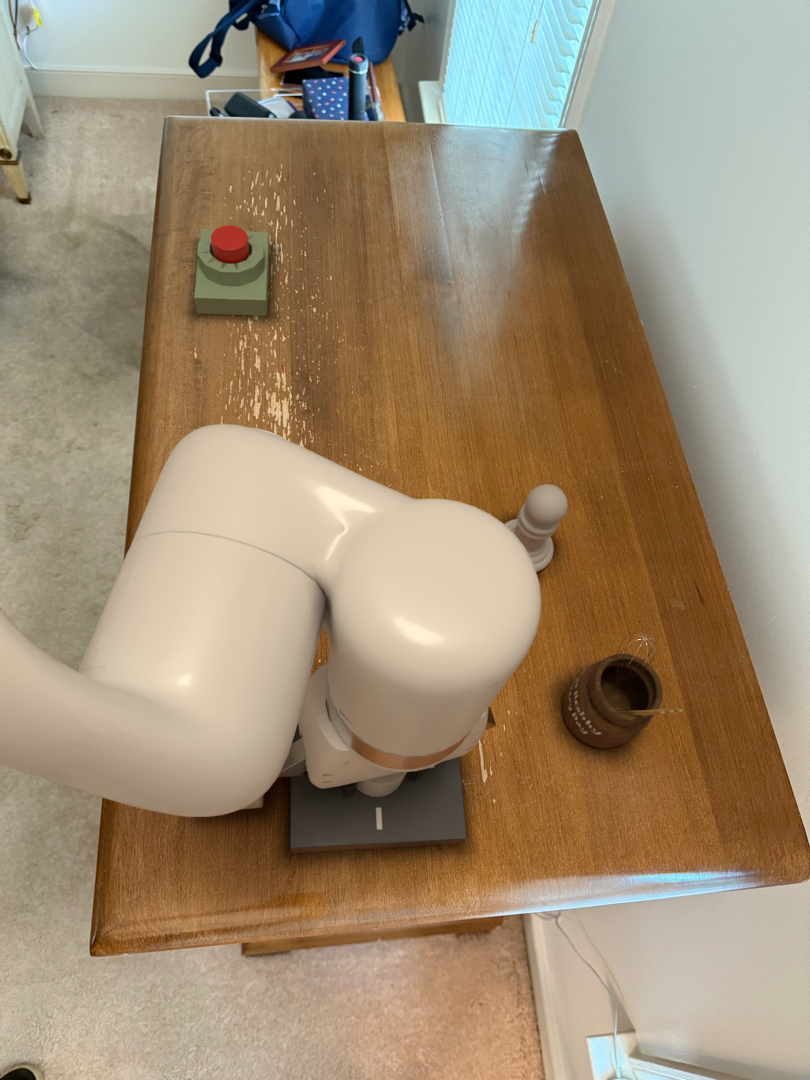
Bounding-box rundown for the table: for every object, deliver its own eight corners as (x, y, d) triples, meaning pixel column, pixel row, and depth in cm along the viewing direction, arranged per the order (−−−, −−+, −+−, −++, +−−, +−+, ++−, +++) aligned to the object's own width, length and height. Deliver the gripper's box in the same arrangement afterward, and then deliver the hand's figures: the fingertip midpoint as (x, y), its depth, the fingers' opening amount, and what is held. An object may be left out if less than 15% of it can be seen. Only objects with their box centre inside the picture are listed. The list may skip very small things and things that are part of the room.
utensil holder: (621, 673, 61) (685, 616, 50) (642, 750, 58) (715, 707, 47) (552, 680, 60) (603, 624, 49) (571, 759, 57) (629, 717, 46)
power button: (211, 263, 73) (209, 249, 71) (214, 238, 75) (211, 224, 73) (248, 265, 73) (247, 250, 72) (250, 240, 75) (248, 226, 74)
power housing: (196, 314, 74) (191, 283, 71) (203, 245, 79) (198, 213, 76) (267, 316, 75) (264, 285, 72) (269, 248, 80) (267, 217, 76)
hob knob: (349, 798, 51) (352, 785, 46) (347, 740, 53) (350, 722, 48) (407, 795, 51) (415, 782, 47) (402, 737, 53) (410, 720, 49)
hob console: (291, 853, 51) (289, 848, 49) (292, 712, 56) (291, 700, 53) (459, 844, 53) (467, 838, 50) (447, 707, 58) (454, 695, 55)
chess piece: (537, 516, 67) (566, 460, 59) (561, 567, 65) (595, 515, 57) (483, 530, 66) (506, 474, 58) (506, 582, 63) (533, 531, 56)
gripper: (541, 585, 39) (475, 689, 55) (218, 647, 35) (248, 739, 51) (591, 724, 36) (506, 792, 51) (240, 807, 32) (265, 852, 48)
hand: (377, 765), depth 51 cm, fingers closed on hob knob, 4 cm apart
